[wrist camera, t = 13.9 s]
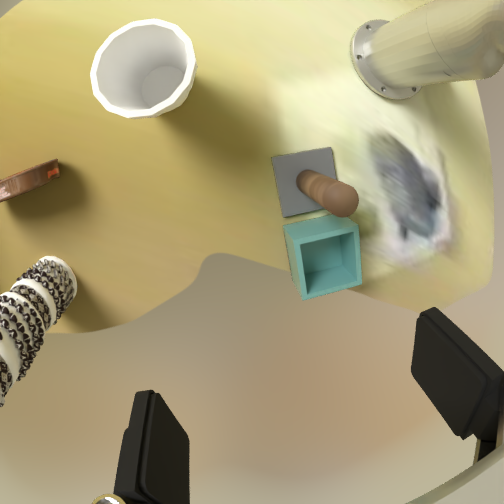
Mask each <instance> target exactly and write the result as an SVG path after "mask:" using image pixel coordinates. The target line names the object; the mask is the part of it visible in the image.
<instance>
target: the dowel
mask: <svg viewBox="0 0 504 504" xmlns="http://www.w3.org/2000/svg"><path fill="white" fill-rule="evenodd" d="M296 186H297V188H298V189H299V190H300V191H301V192H302V193H304V194H305V195H307V196H308V197H310V198H311V199H312V200H314V201H315V202H317V203H318V204H319V205H321V206H322V207H324V208H325V209H326V210H328V211H329V212H331V213H332V214H333V215H335V216H337V217H341V218H344V217H348V216H350V215H351V214H353V213H354V211H355V210H356V209H357V206H358V202H359V198H358V194H357V192H356V190H355V189H354V188H353V187H352V186H350V185H347V184H345V183H343V182H340V181H338V180H335V179H333V178H330V177H328V176H325V175H323V174H320V173H318V172H315V171H313V170H309V169H307V170H303V171H301V172H300V173H299V174H298V176H297V178H296Z"/></svg>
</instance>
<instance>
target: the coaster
mask: <svg viewBox="0 0 504 504" xmlns="http://www.w3.org/2000/svg"><path fill="white" fill-rule="evenodd" d="M271 159H272V164H273V169H274V174H275V180H276V185H277V190H278V195H279V200H280V206H281V211H282V216H283V217H287V216H292V215H296V214H301V213H305V212H310V211H314V210H319V209H323V208H324V207H322V206H321V205H319V204H318V203H317V202H315V201H314V200H312V199H311V198H310V197H308V196H307V195H305V194H304V193H302V192H301V191H300V190H299V189H298V188H297V186H296V178H297V176H298V174H299V173H300V172H301V171H303V170H307V169H309V170H313V171H315V172H318V173H320V174H323V175H325V176H328V177H330V178H333V179H335V180H336V175H335V168H334V162H333V156H332V150H331V147H326V148H320V149H314V150H308V151H302V152H297V153H291V154H286V155H281V156H275V157H271Z"/></svg>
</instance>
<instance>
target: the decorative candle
mask: <svg viewBox="0 0 504 504" xmlns="http://www.w3.org/2000/svg"><path fill="white" fill-rule="evenodd" d="M77 287H78V286H77V281H76V276H75V275H74V273H73V271H72V269H71V267H70V266H69V265H68V264H67V263H66V262H65V261H64V260H62V259H60V258H58V257H56V256H45V257H43V258H41V259H39V260H38V262H37V264H33V270H31V268H28V270H27V272H26V273H23V274H22V276H21V278H20V277H19V278H17V280H16V283H15V284H14V285H13V286H12V288H11V290H10V291H9V292H5V293H3V294H1V295H0V407H2V406H3V405H4V403H5V400H4V397H5V395H6V394H7V392H8V390H9V388H12V386H13V384H14V383H15V381H20V380H21V377H25V375H26V370H28V369H29V368H30V363H32V362H33V358H35V357H36V352H37V351H39V350H40V345H43V343H44V339H45V332H46V331H48V330H49V328H50V327H51V326H52V324H54V325H55V324H56V323H57V319H60V317H61V313H64V312H65V311H66V308H67V307H68V306H69V305H70V302H72V301H73V298H74V297H75V296H76V292H77ZM19 373H20V374H19Z"/></svg>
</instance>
